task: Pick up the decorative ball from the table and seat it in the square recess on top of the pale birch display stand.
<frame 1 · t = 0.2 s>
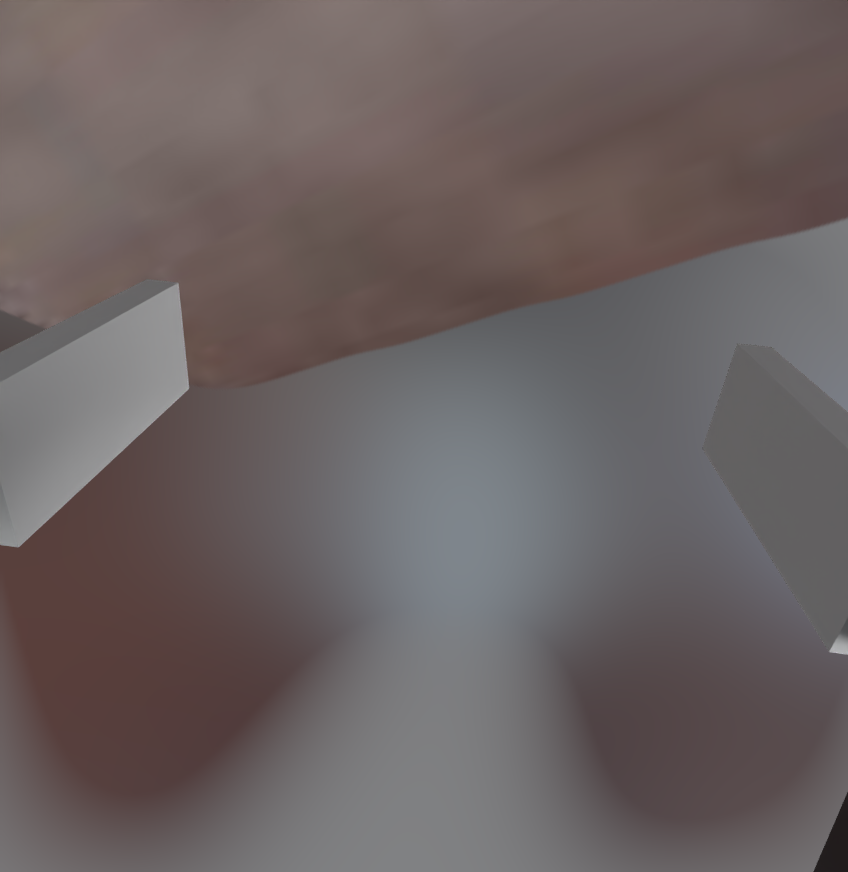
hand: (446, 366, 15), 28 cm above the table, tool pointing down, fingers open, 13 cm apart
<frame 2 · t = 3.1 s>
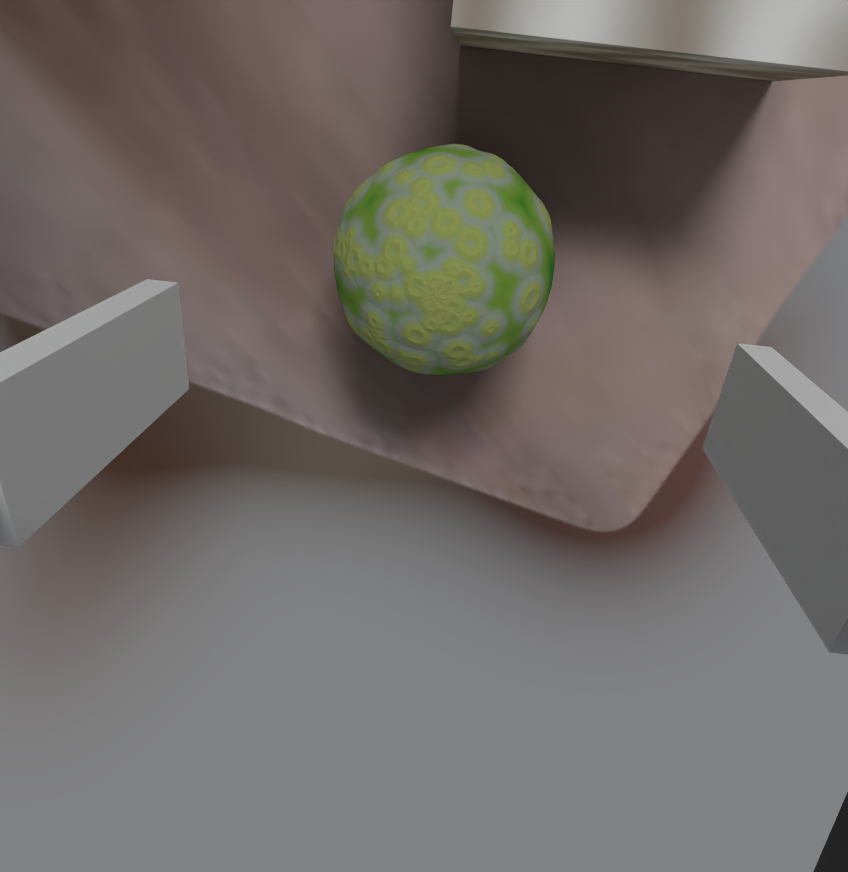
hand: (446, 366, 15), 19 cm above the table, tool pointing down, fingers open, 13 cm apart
decorative ball: (450, 244, 33), on the table
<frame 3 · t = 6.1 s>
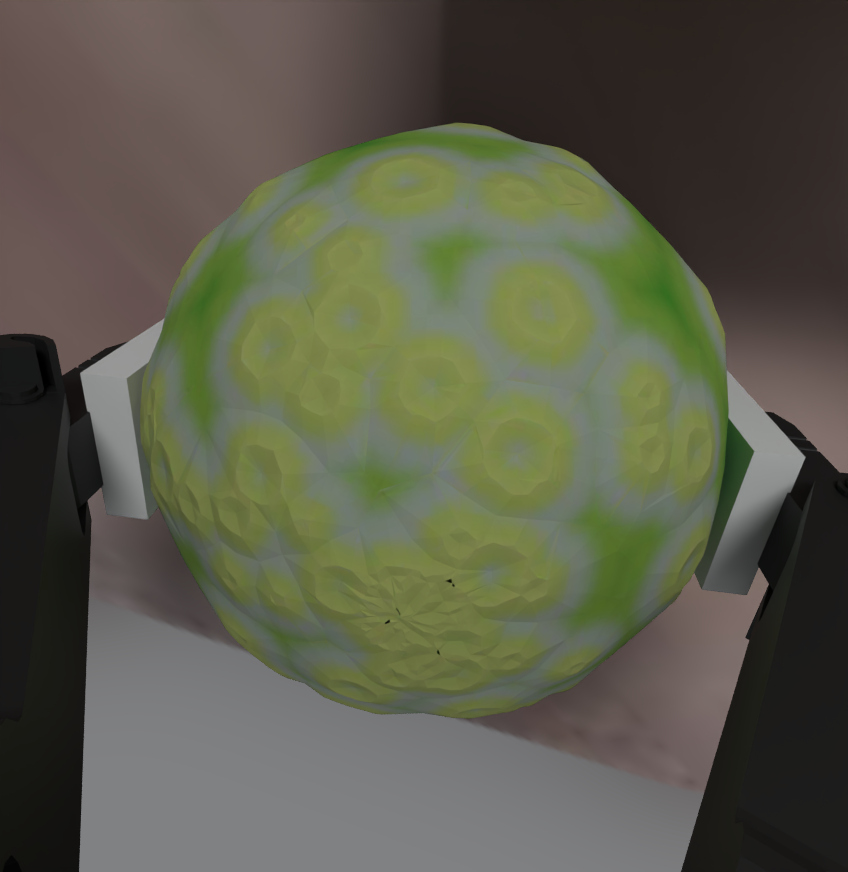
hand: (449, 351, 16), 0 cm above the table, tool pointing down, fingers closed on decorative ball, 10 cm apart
decorative ball: (453, 335, 16), on the table, touching gripper
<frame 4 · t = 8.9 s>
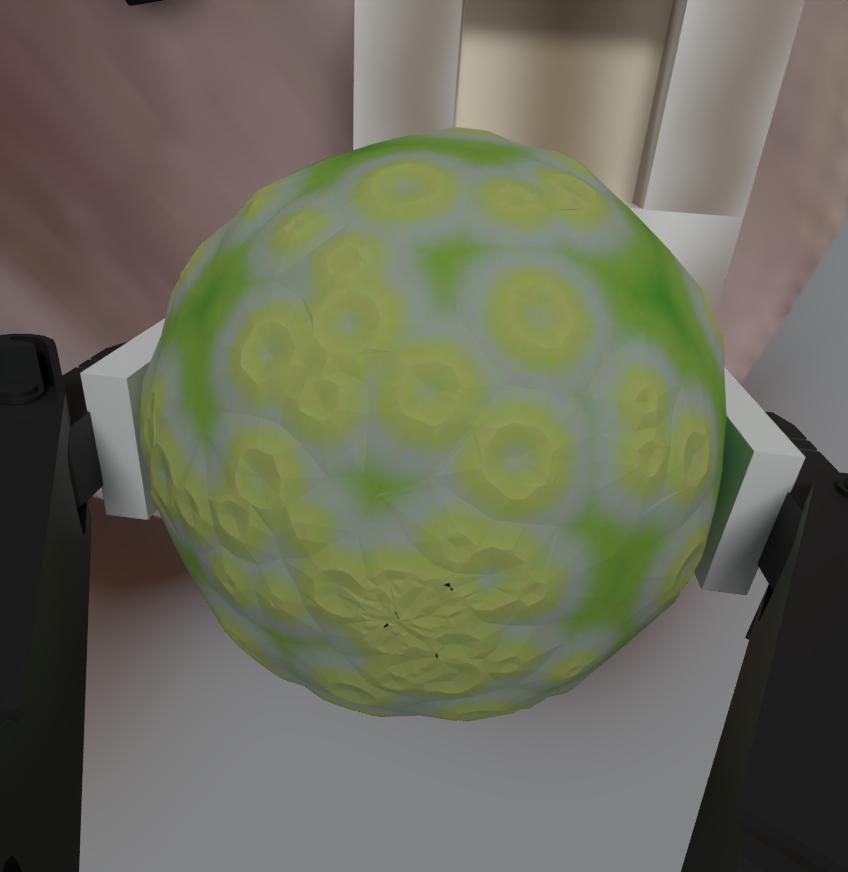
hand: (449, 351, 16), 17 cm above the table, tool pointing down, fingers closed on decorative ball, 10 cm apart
decorative ball: (452, 337, 16), point 17 cm above the table, touching gripper
display stand: (543, 97, 28), on the table
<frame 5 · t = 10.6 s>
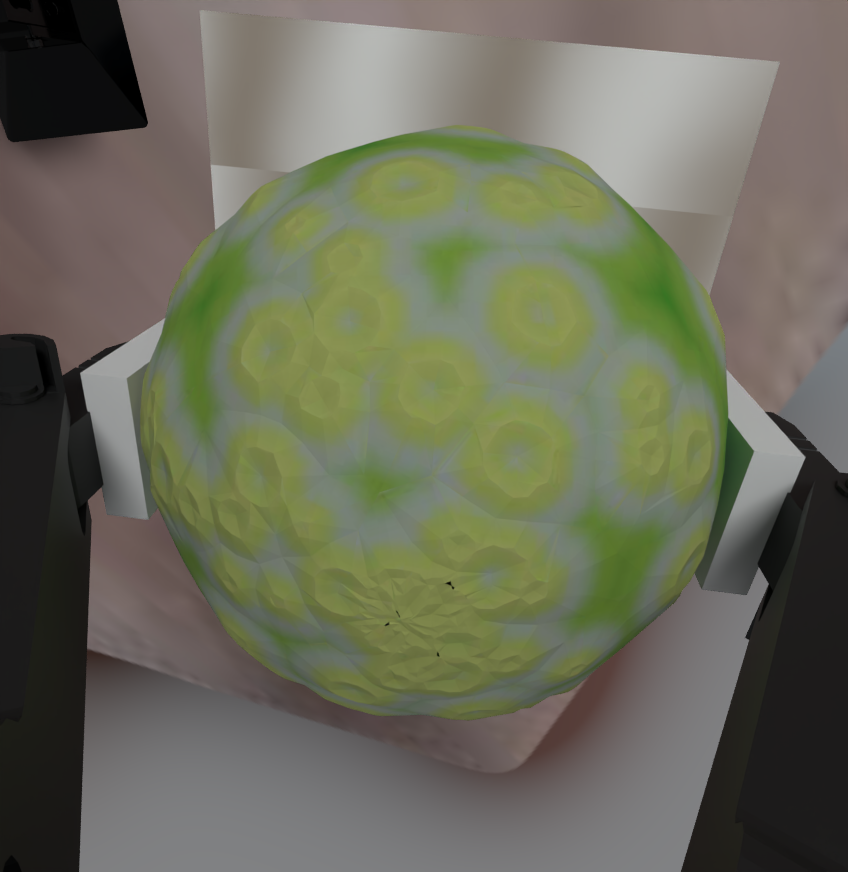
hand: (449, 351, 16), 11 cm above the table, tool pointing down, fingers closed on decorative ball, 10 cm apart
decorative ball: (453, 336, 16), point 10 cm above the table, touching gripper
display stand: (463, 258, 25), on the table
when the fingers open (10 cm above the table, at t = 11.8 s): decorative ball drops 2 cm, resting on display stand.
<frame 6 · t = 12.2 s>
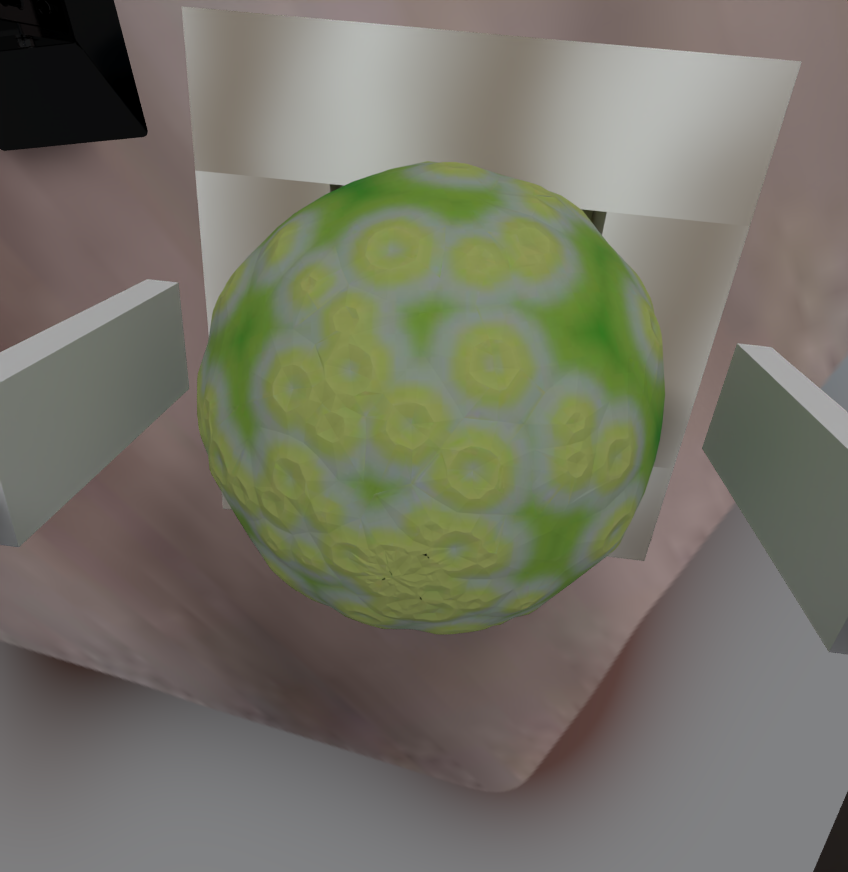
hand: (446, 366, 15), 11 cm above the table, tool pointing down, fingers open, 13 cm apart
decorative ball: (457, 300, 18), point 7 cm above the table, touching display stand
display stand: (463, 266, 24), on the table
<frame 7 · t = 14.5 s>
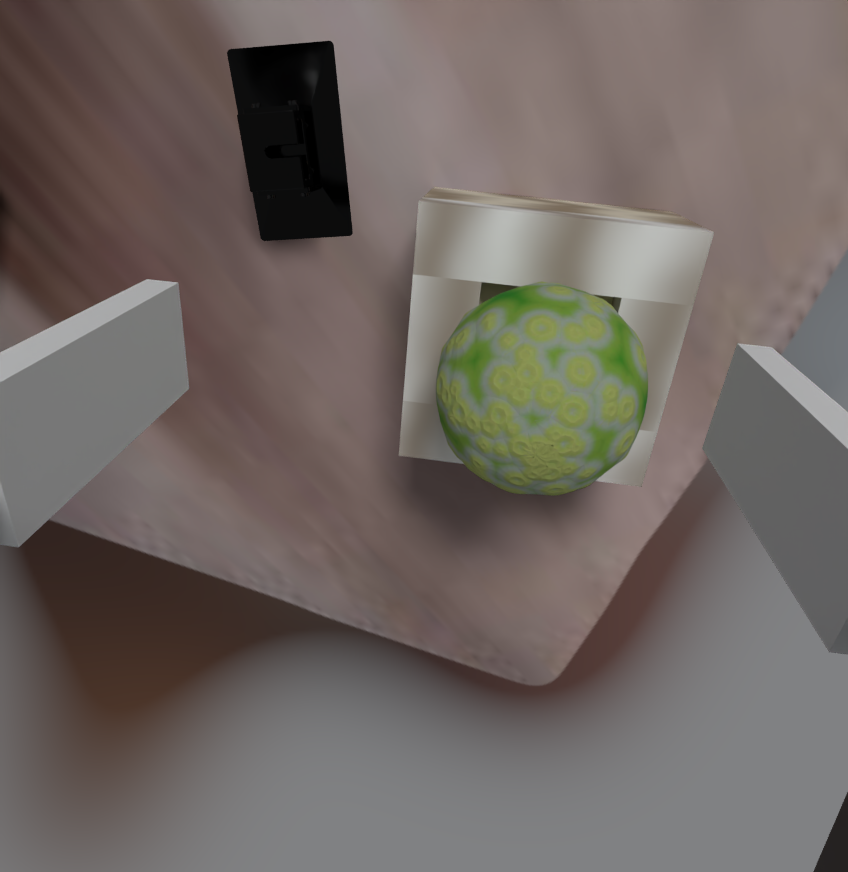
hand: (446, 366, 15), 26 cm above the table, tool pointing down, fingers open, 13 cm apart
black box: (297, 149, 38), on the table
decorative ball: (540, 339, 34), point 7 cm above the table, touching display stand
display stand: (532, 315, 40), on the table
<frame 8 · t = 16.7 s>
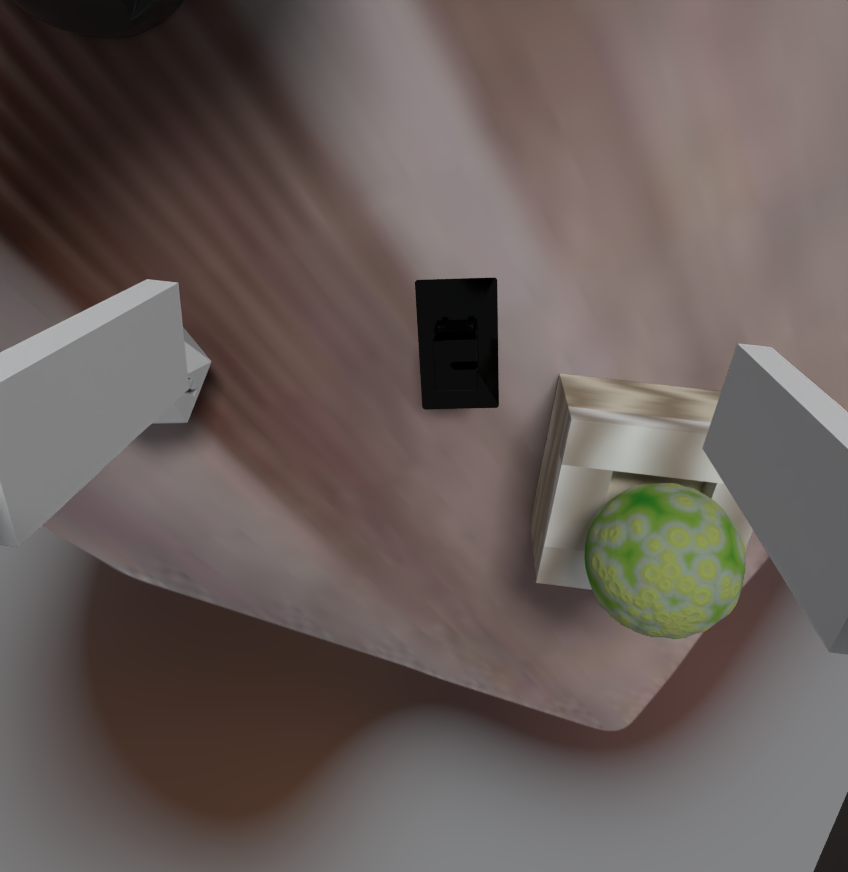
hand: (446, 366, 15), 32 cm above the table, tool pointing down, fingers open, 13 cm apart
black box: (458, 342, 49), on the table
decorative ball: (650, 503, 45), point 7 cm above the table, touching display stand
grey faceted polyhedron: (171, 352, 51), on the table
display stand: (629, 462, 51), on the table
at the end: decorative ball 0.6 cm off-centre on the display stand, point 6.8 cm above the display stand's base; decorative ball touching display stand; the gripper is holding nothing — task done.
